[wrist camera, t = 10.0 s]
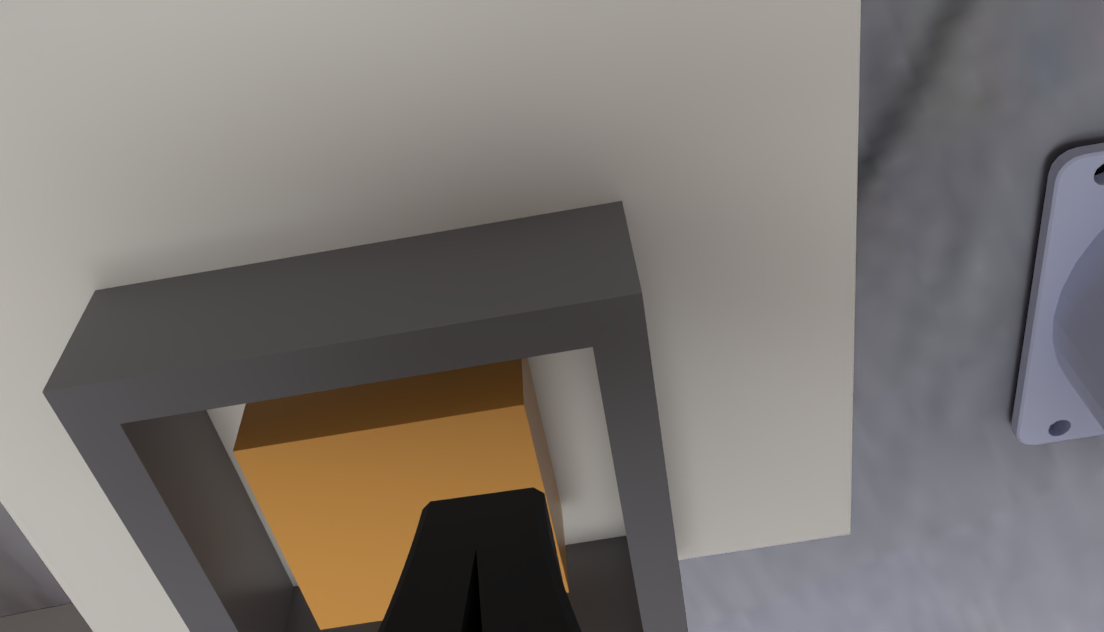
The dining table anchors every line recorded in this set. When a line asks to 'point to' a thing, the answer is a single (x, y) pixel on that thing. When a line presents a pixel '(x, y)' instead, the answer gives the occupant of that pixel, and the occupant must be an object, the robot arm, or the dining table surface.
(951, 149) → the dining table surface
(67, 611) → the circuit breaker
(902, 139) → the dining table surface
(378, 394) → the button
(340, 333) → the slider control box
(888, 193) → the dining table surface
